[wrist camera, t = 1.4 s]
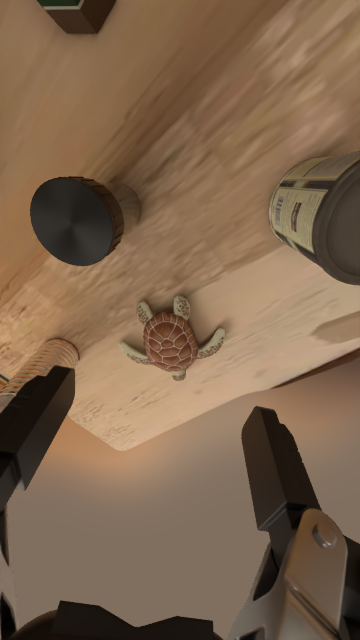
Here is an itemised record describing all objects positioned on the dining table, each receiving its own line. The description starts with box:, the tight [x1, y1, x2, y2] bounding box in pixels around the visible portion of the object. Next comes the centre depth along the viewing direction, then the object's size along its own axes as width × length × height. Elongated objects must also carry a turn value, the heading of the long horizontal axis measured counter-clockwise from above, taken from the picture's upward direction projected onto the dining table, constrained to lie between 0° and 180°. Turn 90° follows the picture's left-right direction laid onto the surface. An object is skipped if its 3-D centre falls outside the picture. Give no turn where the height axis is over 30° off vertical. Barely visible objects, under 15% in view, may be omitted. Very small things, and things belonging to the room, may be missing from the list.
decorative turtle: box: [119, 295, 225, 381], centre depth 39 cm, size 18×17×5 cm
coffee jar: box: [100, 183, 141, 236], centre depth 26 cm, size 6×6×14 cm
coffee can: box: [269, 151, 360, 285], centre depth 24 cm, size 10×10×14 cm
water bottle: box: [0, 339, 78, 413], centre depth 34 cm, size 7×7×25 cm
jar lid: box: [30, 176, 125, 266], centre depth 21 cm, size 7×7×4 cm
